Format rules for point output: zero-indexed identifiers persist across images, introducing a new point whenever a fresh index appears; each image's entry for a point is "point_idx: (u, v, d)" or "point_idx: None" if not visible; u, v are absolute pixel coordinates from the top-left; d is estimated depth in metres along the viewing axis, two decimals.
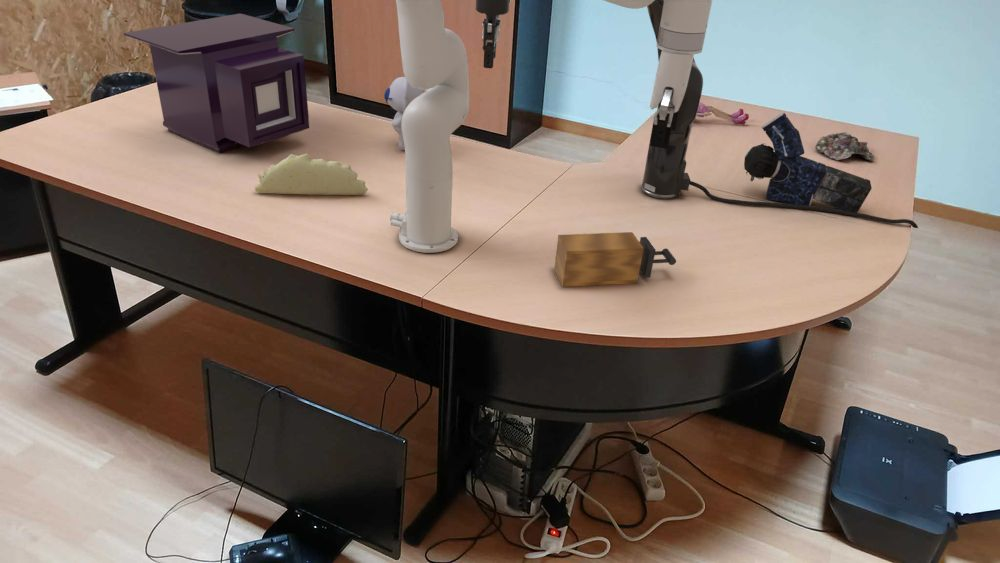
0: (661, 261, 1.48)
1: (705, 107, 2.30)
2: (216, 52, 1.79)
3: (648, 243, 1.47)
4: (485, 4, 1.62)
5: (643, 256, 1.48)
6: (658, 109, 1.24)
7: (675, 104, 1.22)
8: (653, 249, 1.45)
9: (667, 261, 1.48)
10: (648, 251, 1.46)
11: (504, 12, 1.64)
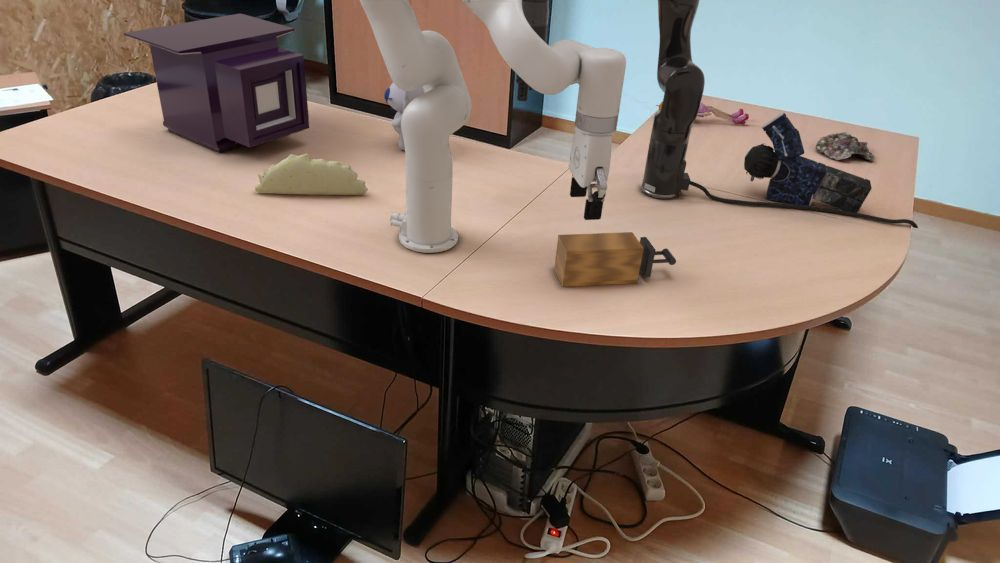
0: (661, 261, 1.48)
1: (705, 107, 2.30)
2: (216, 52, 1.79)
3: (648, 243, 1.47)
4: None
5: (643, 256, 1.48)
6: (590, 187, 1.32)
7: (605, 180, 1.32)
8: (653, 249, 1.45)
9: (667, 261, 1.48)
10: (648, 251, 1.46)
11: None
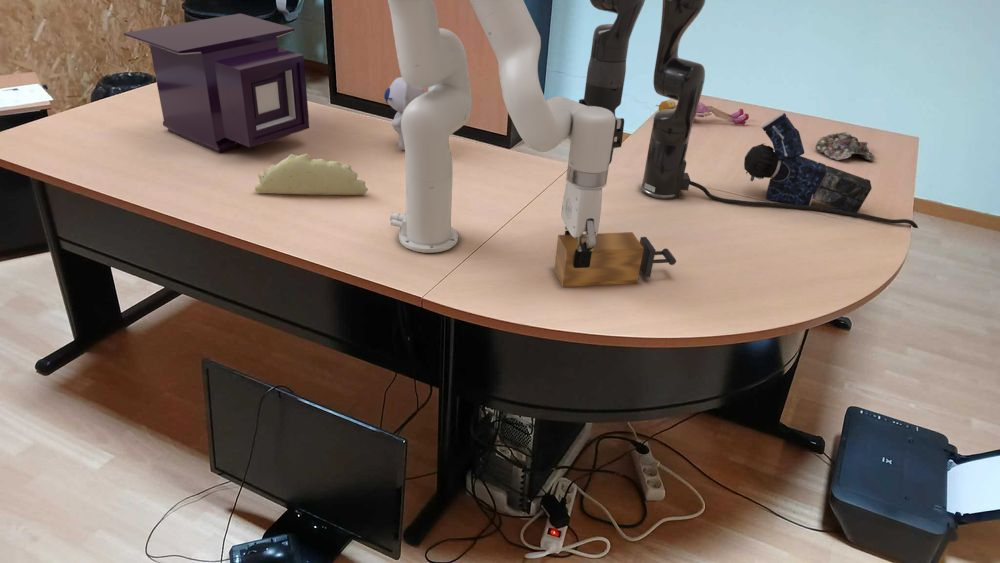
0: (661, 261, 1.48)
1: (705, 107, 2.30)
2: (216, 52, 1.79)
3: (648, 243, 1.47)
4: None
5: (643, 256, 1.48)
6: (580, 238, 1.39)
7: (595, 233, 1.38)
8: (653, 249, 1.45)
9: (667, 261, 1.48)
10: (648, 251, 1.46)
11: None
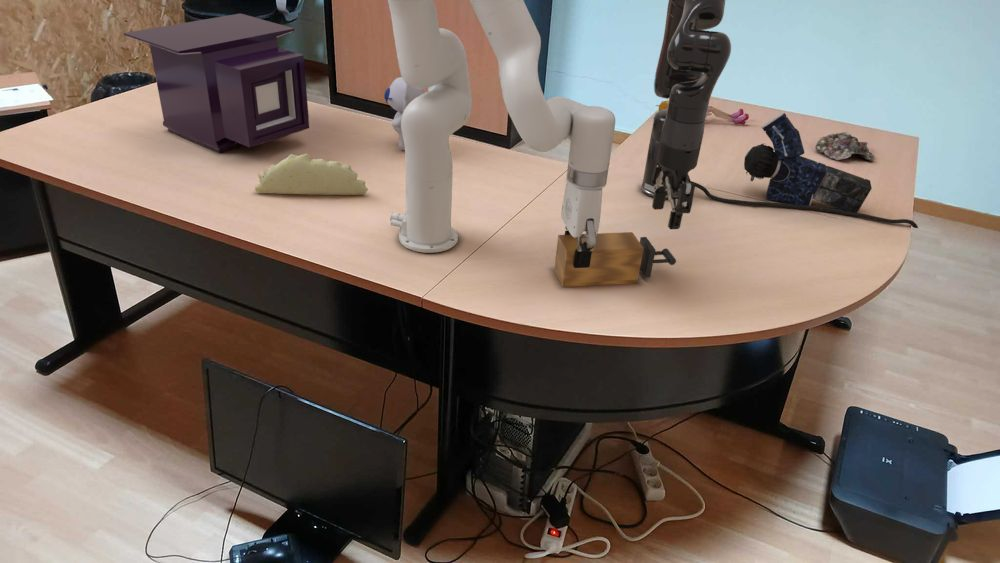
0: (661, 261, 1.48)
1: None
2: (216, 52, 1.79)
3: (648, 243, 1.47)
4: None
5: (643, 256, 1.48)
6: (580, 238, 1.39)
7: (595, 233, 1.38)
8: (653, 249, 1.45)
9: (667, 261, 1.48)
10: (648, 251, 1.46)
11: None
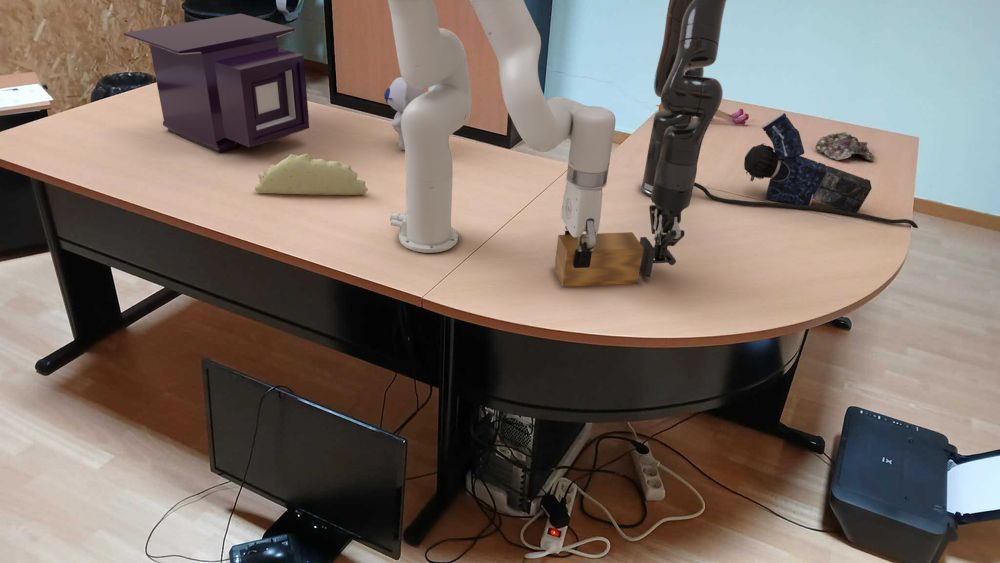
0: (661, 261, 1.48)
1: None
2: (216, 52, 1.79)
3: (648, 243, 1.47)
4: None
5: (643, 256, 1.48)
6: (580, 238, 1.39)
7: (595, 233, 1.38)
8: (653, 249, 1.45)
9: (667, 261, 1.48)
10: (648, 251, 1.46)
11: None
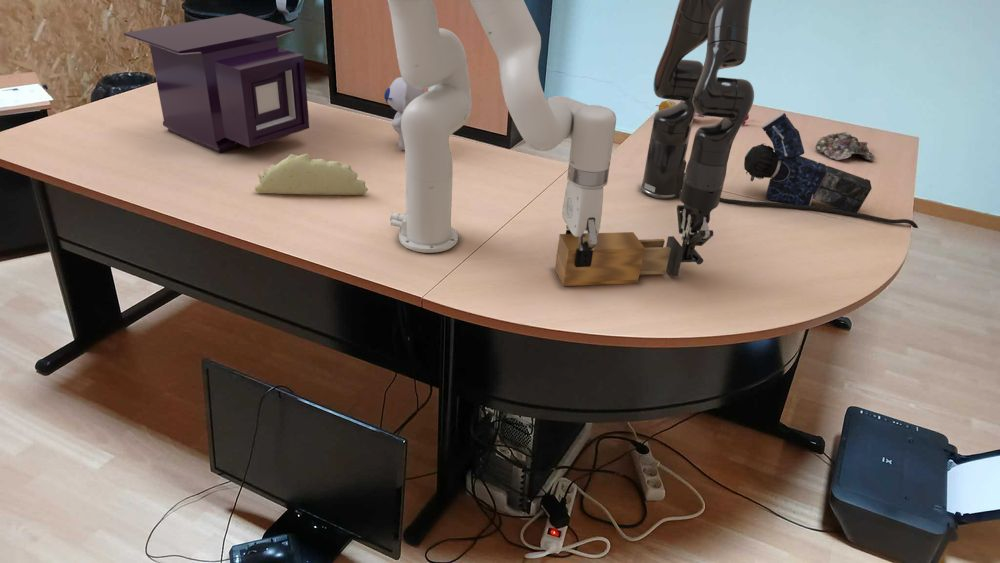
0: (688, 260, 1.49)
1: None
2: (216, 52, 1.79)
3: (676, 242, 1.49)
4: None
5: (671, 255, 1.50)
6: (581, 237, 1.39)
7: (596, 232, 1.38)
8: (681, 248, 1.47)
9: (694, 260, 1.50)
10: (676, 250, 1.47)
11: None
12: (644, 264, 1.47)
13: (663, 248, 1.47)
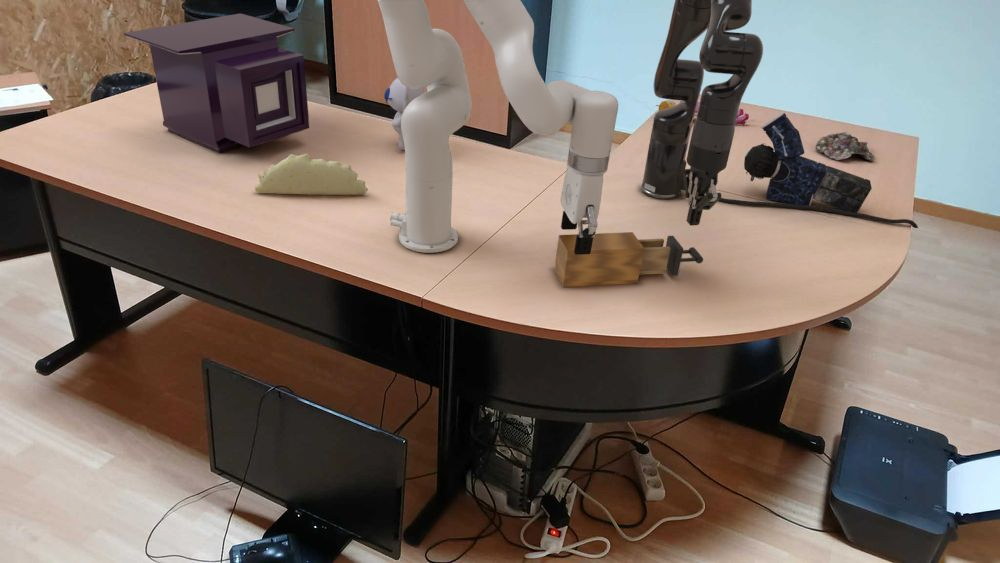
0: (688, 260, 1.49)
1: None
2: (216, 52, 1.79)
3: (676, 242, 1.48)
4: None
5: (670, 255, 1.50)
6: (581, 223, 1.37)
7: (595, 217, 1.36)
8: (681, 248, 1.47)
9: (694, 260, 1.50)
10: (675, 249, 1.47)
11: None
12: (644, 264, 1.47)
13: (663, 248, 1.46)
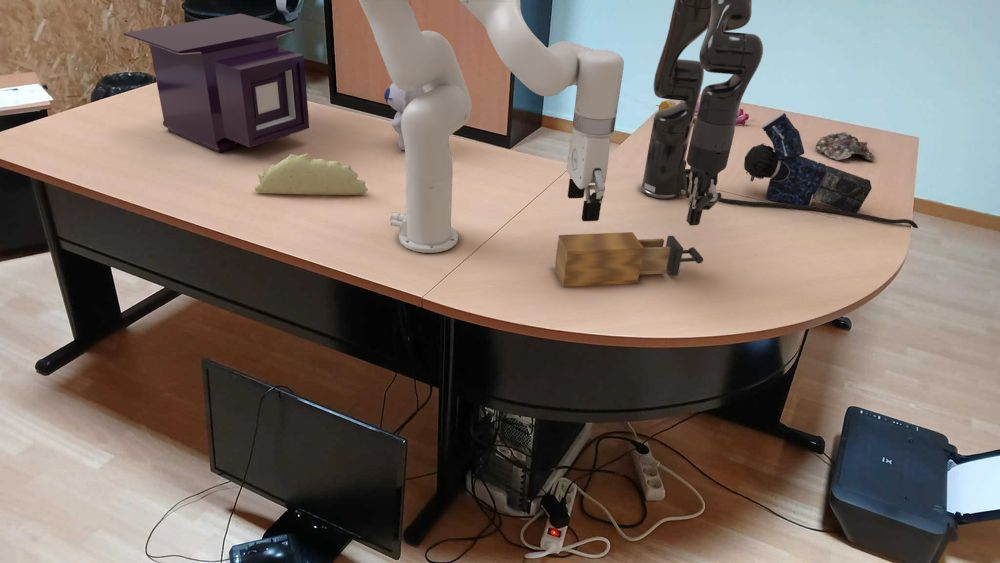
0: (688, 260, 1.49)
1: None
2: (216, 52, 1.79)
3: (676, 242, 1.48)
4: None
5: (670, 255, 1.50)
6: (588, 188, 1.33)
7: None
8: (681, 248, 1.47)
9: (694, 260, 1.50)
10: (675, 249, 1.47)
11: None
12: (644, 264, 1.47)
13: (663, 248, 1.46)
